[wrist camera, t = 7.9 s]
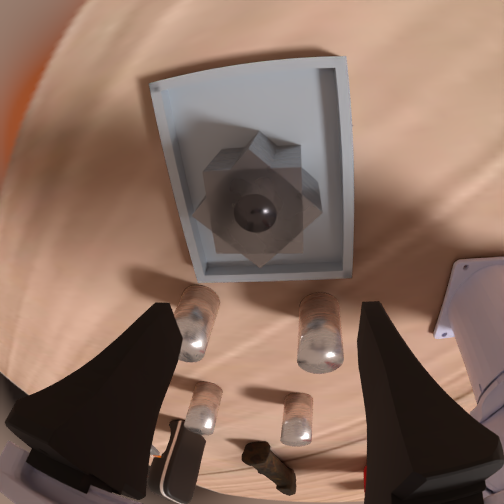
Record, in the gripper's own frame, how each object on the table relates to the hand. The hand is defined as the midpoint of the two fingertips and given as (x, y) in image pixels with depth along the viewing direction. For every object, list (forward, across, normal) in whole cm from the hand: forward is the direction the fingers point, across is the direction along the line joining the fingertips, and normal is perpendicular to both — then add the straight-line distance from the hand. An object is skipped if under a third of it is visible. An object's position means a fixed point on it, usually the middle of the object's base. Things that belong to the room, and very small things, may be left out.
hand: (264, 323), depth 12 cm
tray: (+10, +1, -2) cm, 10 cm away
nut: (+9, +1, -2) cm, 9 cm away
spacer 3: (+10, 0, +22) cm, 24 cm away
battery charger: (+10, +16, +32) cm, 37 cm away
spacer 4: (+10, -2, +8) cm, 13 cm away
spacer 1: (+10, +7, +7) cm, 14 cm away
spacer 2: (+10, +9, +20) cm, 24 cm away
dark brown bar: (+10, +3, +43) cm, 44 cm away
